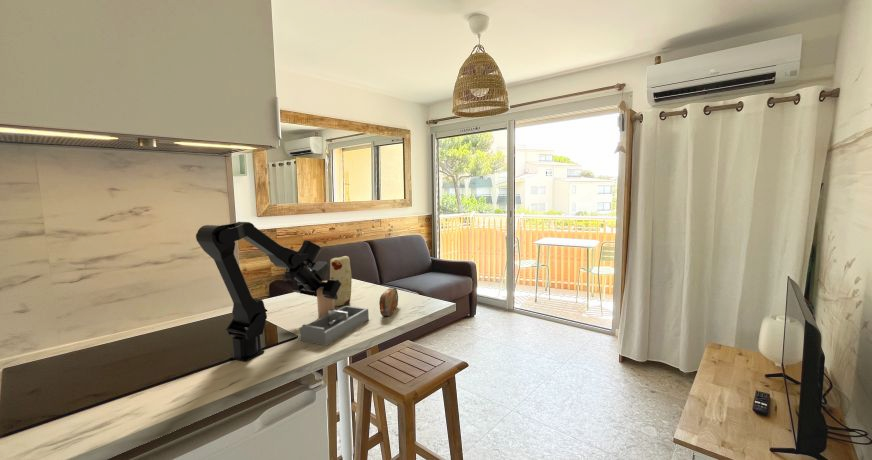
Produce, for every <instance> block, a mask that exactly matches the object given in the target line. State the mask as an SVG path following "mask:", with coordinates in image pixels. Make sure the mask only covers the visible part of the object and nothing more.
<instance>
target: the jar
mask: <svg viewBox="0 0 872 460" xmlns="http://www.w3.org/2000/svg"><path fill="white" fill-rule="evenodd" d="M327 281H328V280H322V282H327ZM322 290H323V289H321V288H319V289H318V290H317V297H316V303H317V315H318V318H317V319H319V318H321V317H324V316H326V315H328V310H330V309H331V310H336V306H335V303H334V299H330V298H326V297H324V295H323V293H322Z"/></svg>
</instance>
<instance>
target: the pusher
mask: <svg viewBox="0 0 872 460" xmlns="http://www.w3.org/2000/svg"><path fill="white" fill-rule="evenodd" d="M328 314H329V323H328V325H329V326H332V325H337V324H339V323H340V322H342V321H344V320H346V319H348V312H345V311H338V309H335V310H331V309H330V310H328Z"/></svg>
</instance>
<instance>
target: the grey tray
mask: <svg viewBox="0 0 872 460" xmlns="http://www.w3.org/2000/svg"><path fill="white" fill-rule="evenodd" d="M337 310H338V311H345V312H348V319H346V320H344V321H342V322H340V323H339V324H337V325H332V326H329V325H328V323H329V314H328V315H326V316H324V317H321V318H317V319H315V320H313V321H312V322H310V323H308V324H305V323H304V324H302V325H301V327H299V335H300V341H302V342H307V343H311V344H317V345H323V346H327V345H329V344H330V343H332V342H334V341H335V340H337V339H339V338H341V337H342V336H344V335H346V334H347V333H349V332H350V331H352V330H354V329H355V328H357V327H359V326H360V325H362V324H363V323H365V322H367V321H368V320H370V319H369V308H365V307H360V306H350V305H343V306H342V307H340V308H337Z"/></svg>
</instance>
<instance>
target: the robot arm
mask: <svg viewBox="0 0 872 460" xmlns="http://www.w3.org/2000/svg"><path fill="white" fill-rule="evenodd" d="M242 239H243V240H245V242H248V243H249V244H251V246H253V247H255V248H256V249H257V250H260V251H261V252H262V253H264V254H265V255H266V256H267V257H268V258H269V261H270V262H271V263H272V264H273V265H275V267H277V268H278V269H279V268H281V269H286V270H285V271H284V276H283V277H284V280H289V281H294V282H293V284H292V286H291V290H292V291H293V292H294V293H297V294H301V295H306V296H312V297H316V298H317V290H318V289H319V288H321V289H323V290H322V293H323V295H324V297H326V298H330V299H334V300H337V298H338V296H337V292H338V290H339V288H340V286H341V282H340V281H339V280H336V279H330V278H329V279H327V280H326V281H327V282H322V281H325V280H324V279H325V275H326V274H327V273H328V272H330V267H329V266H330V265H329V264H328V262H327V261H322V260H321V261H320V260H319V261H316V260H317V257H318V256H319V254H320V253H321V251H322V248H321V246H320V245H319V244H316V243H314V242H312V241H310V239H307V240H306V239H305V240H304V241H303V242H302V245H301V247H300V248H299V250H298V251H296V250H294V249H292V248H290V247H286V246H284V245H281V244H279V243H278V242H276V241H275V240H274V239H272V238H271V237H270V236H269V235H267V234H266V233H264V232H263V231H262V230H261V229H258V228H257V226H255V224H253V222H252V223H251V222H250V221H236V222H233V223H228V224H222V225H219V224H218V225H216V224H215V225H214V224H205V225H202V226H201V227H200V228H199V229H198V230H197V232H196V234H195V240H196V242H197V243H198V245H199V246H200V247H201V249H202V250H203V252H204V253H206V254H207V255H208V256H209V257H210V258H211V259H212V260H214V264H215V265H216V267H217V269H218V270H217V271H219V274H220V277H221V278H222V280H223V283H224V285H225V287H226V290H227V292H228V294H229V296H230V298H231V300H232V303H233V306H232V311H231V312H232V316H233V318H232V320H231V321H230V322H229V324H228V326H227V328H226V329H225V331H226V333H227V335H228V336H231V337H232V336H233V337H232V338H231V339H232V349H233V350H232V352H233V354H231V355H230V356H229V358H230V359H233V360H237V361H241V362H248V361H250V360H251V359H254V358H255V357H257V356H259V355H261V354H263V353H265V350H264V349H262V341H261V335H263V333H264V330H265V325H266V321H267V319H268V315H267V312H268V309H267V308H266V307H265V302H264V301H263V299H259V298H258V299H257V298H254V297H253V296H252V293H251V291H250V289H249V286H248V284H247V282H246V280H245V279H246V278H245V277H244V275H243V273H242V271H241V267H240V265H239V263H238V261H237V258H236V256H235V249H236V248H235V247H236V241H240V240H242Z"/></svg>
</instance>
